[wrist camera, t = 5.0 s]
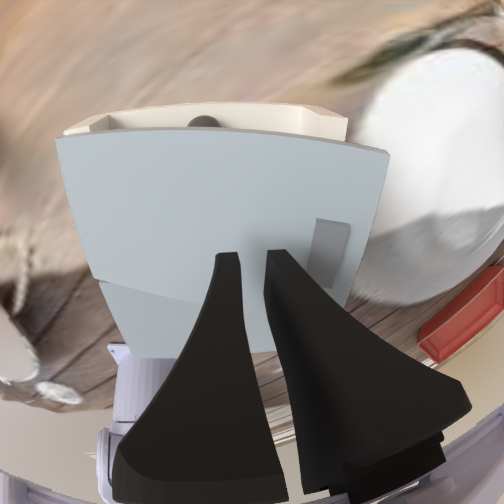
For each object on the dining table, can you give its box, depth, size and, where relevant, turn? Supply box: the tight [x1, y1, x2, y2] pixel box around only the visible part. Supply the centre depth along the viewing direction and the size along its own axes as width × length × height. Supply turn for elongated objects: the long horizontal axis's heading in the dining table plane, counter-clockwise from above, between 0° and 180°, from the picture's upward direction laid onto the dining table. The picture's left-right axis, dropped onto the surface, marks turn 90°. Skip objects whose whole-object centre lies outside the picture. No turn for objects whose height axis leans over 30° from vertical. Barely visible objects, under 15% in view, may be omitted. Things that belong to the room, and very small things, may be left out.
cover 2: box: [99, 280, 276, 358], centre depth 19 cm, size 9×14×1 cm, turn 88°
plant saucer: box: [417, 265, 504, 364], centre depth 34 cm, size 18×18×3 cm
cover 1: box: [55, 127, 390, 317], centre depth 12 cm, size 9×14×1 cm, turn 88°
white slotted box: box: [63, 102, 348, 142], centre depth 18 cm, size 18×14×4 cm
